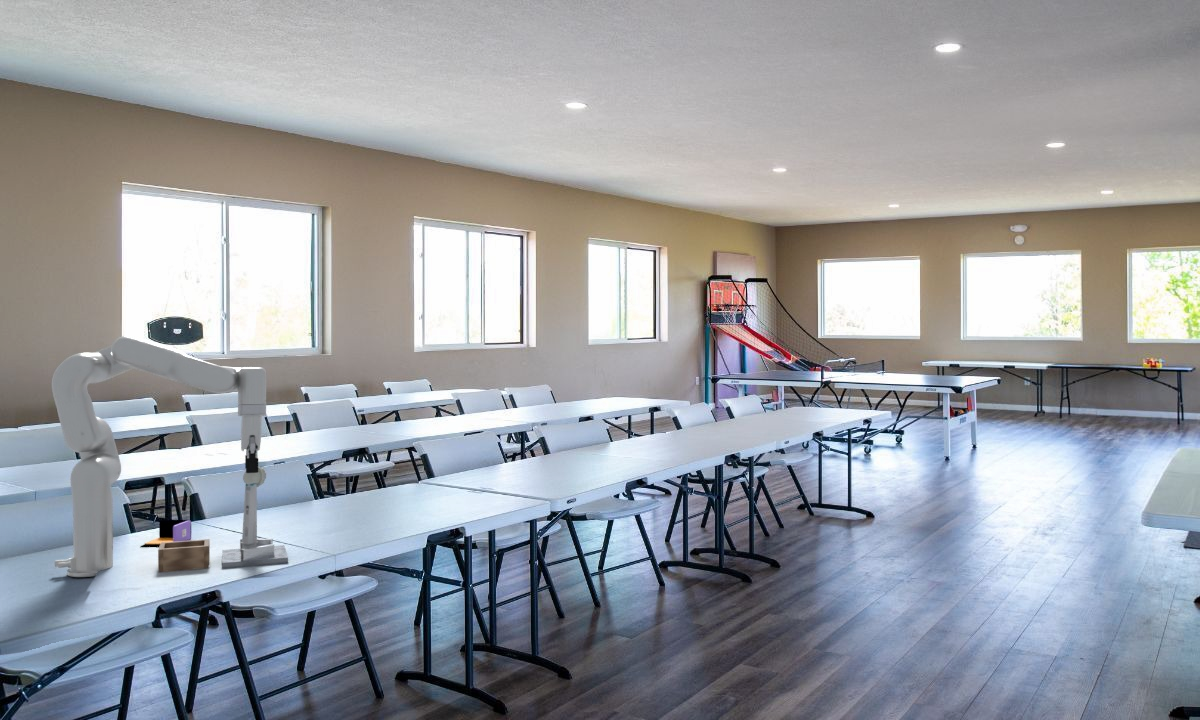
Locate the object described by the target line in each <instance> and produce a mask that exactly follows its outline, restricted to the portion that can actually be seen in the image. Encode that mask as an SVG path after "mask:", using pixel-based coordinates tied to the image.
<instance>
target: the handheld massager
mask: <svg viewBox="0 0 1200 720" xmlns="http://www.w3.org/2000/svg"><path fill="white" fill-rule="evenodd" d="M266 479H267V472H265V468H264V467H263V466H261V465H258V473H246V471H245V472H244V473H243V475H242V481H243V482H244V485H245V486H244V487H245V489H244V501H243V502H244V505H243V517H242V518H243V520H242V521H243V522H242V532H241V533H242V534H241V537H242V538H241V539H242V542H241V544H242V549H245V548H252V547H257V543H258V541H257V539H258V517H257V516H258V514H257V512H258V511H257V509H258V508H257V505H258V499H257V498H258V497H257V495H258V494H257V493H258V491H257V488H258V487H261V486H262V485H264V483H265V481H266Z"/></svg>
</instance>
